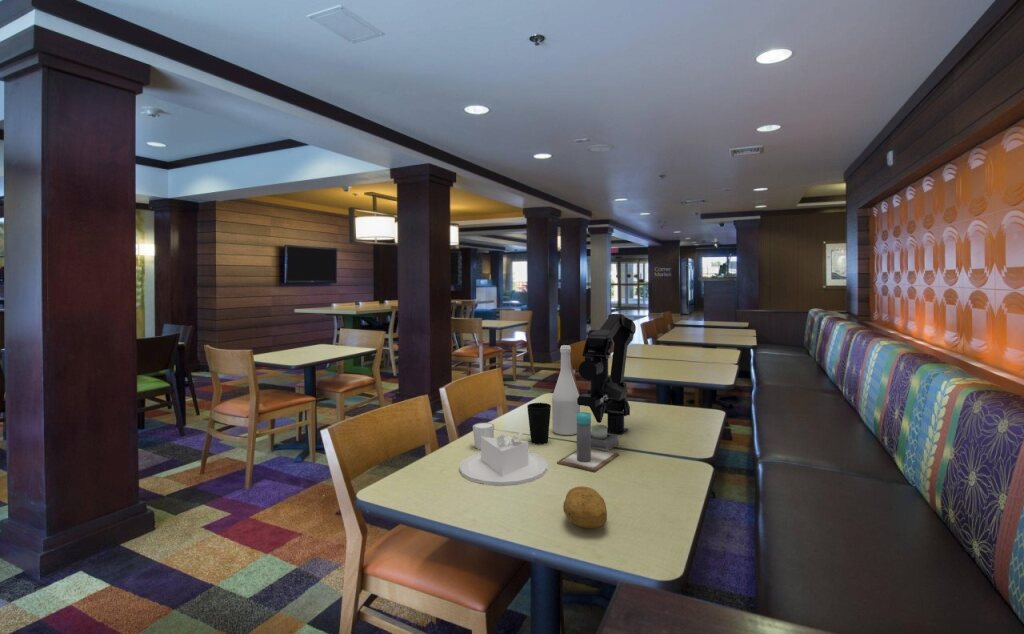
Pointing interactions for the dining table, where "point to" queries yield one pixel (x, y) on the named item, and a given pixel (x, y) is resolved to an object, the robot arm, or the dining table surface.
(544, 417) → the cup
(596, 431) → the button
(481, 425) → the shot glass
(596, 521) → the potato
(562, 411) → the wine bottle
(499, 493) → the dining table surface
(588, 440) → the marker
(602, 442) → the button housing
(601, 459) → the clipboard
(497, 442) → the dish
